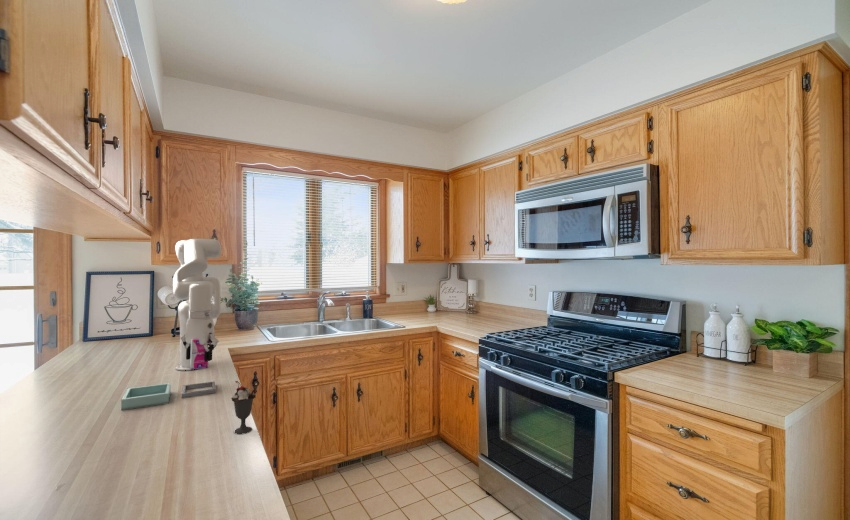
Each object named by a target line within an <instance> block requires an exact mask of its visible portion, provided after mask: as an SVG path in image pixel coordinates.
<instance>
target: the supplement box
mask: <svg viewBox="0 0 850 520" xmlns="http://www.w3.org/2000/svg"><path fill="white" fill-rule="evenodd" d="M207 343H208V341H207ZM205 351H206V350H205V347H204V345H200V343H199V340H195V339H191V352H190V368H191V370H190V371H193V370H194V369H195V370H200V369H201V370H203V369H208V368H209V361H207V362H205V361H204V354H205ZM195 370H194V371H195Z"/></svg>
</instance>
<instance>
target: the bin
mask: <svg viewBox="0 0 850 520" xmlns="http://www.w3.org/2000/svg"><path fill="white" fill-rule="evenodd" d="M171 385H172V384H171V382H168V383H160V384H152V385H150V384H149V385H143V386H136V387H129V388H127V389H126V391H125V392H124V394H123V396H122V398H121V407H120V408H121V409H120V410H121V411H127V410H133V408H134V409H140V408H139V407H141V408H145V407H146V406H148V407H153V405H154V406H161V405H167V403H168V404H169V401H170V397H171V392H172V391H171V390H172V389H171V388H172V386H171Z"/></svg>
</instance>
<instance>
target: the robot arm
mask: <svg viewBox="0 0 850 520" xmlns="http://www.w3.org/2000/svg"><path fill="white" fill-rule="evenodd" d="M175 255H176V258H177V260H178V261H179V264H180V266H179V268H178V269H177V270H176V271H175V273H174V274H173V276H172V277H173V278H172V293H173V294H172V295H173V297H174V299H176V300H178V301H181V302H180V303H179V304H178V307H177V314H178V320H179V321H178V323H179V363H178V364H177V365H175V370H176V371H185V370H186V371H192V370H191V368H190V352H191V339H195V340H199V343H200V345H204V347H205V350H206V351H205V354H204V361H205V362H207V361H208V362H210V361H213V350H215V348H216V347H217V345H218V343H219V340H218V338H217V337H216V334H215V333H216V332H215V331H216V330H215V323H214V320H215V319H218V318H219V317H220V315H221V284H220V281H219V279H218V278H217V277H215V276H203V273H204V272H205V271H206V270H207V269H208V267H209V263H208V259H219V258H220V257H221V255H222V244H221V242H220V241H219V240H218V239H213V238H212V239H211V238H190V239H182V240H179V241H177V242H176V243H175ZM207 341H208V343H207ZM186 371H185V372H186Z"/></svg>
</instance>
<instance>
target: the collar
mask: <svg viewBox="0 0 850 520" xmlns="http://www.w3.org/2000/svg"><path fill="white" fill-rule="evenodd" d="M208 386H209V387H211V388H209V389H201V390H195V391H187V390H192V389H199V388H200V387H201V388H207V387H208ZM216 390H217V388H216V382H215V381H207V382H200V383H193V384H191V383H190V384H184V385H182V390H181V399H184V398H190V397H191V398H192V397H199V396H205V395H212V394H217V391H216ZM186 391H187V392H186ZM198 395H199V396H198Z"/></svg>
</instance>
